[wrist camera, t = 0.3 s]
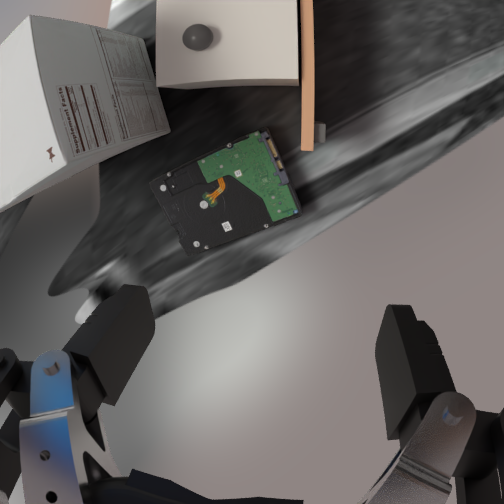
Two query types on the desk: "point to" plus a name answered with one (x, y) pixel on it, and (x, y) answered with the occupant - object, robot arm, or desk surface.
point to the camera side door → (309, 81)
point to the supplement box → (70, 102)
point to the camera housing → (226, 43)
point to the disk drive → (227, 193)
